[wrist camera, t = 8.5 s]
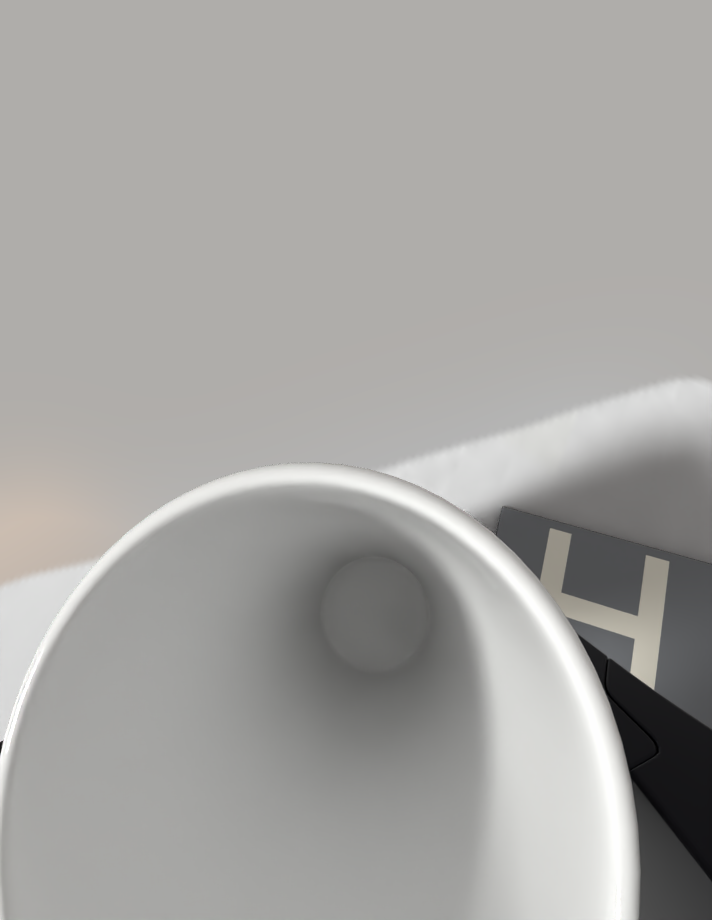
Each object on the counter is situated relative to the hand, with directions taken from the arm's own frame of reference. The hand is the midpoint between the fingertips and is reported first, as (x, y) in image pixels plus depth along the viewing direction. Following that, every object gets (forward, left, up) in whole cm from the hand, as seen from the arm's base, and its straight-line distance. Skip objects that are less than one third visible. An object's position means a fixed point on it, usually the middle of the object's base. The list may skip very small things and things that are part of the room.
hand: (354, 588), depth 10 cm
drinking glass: (-1, +1, -9) cm, 9 cm away
